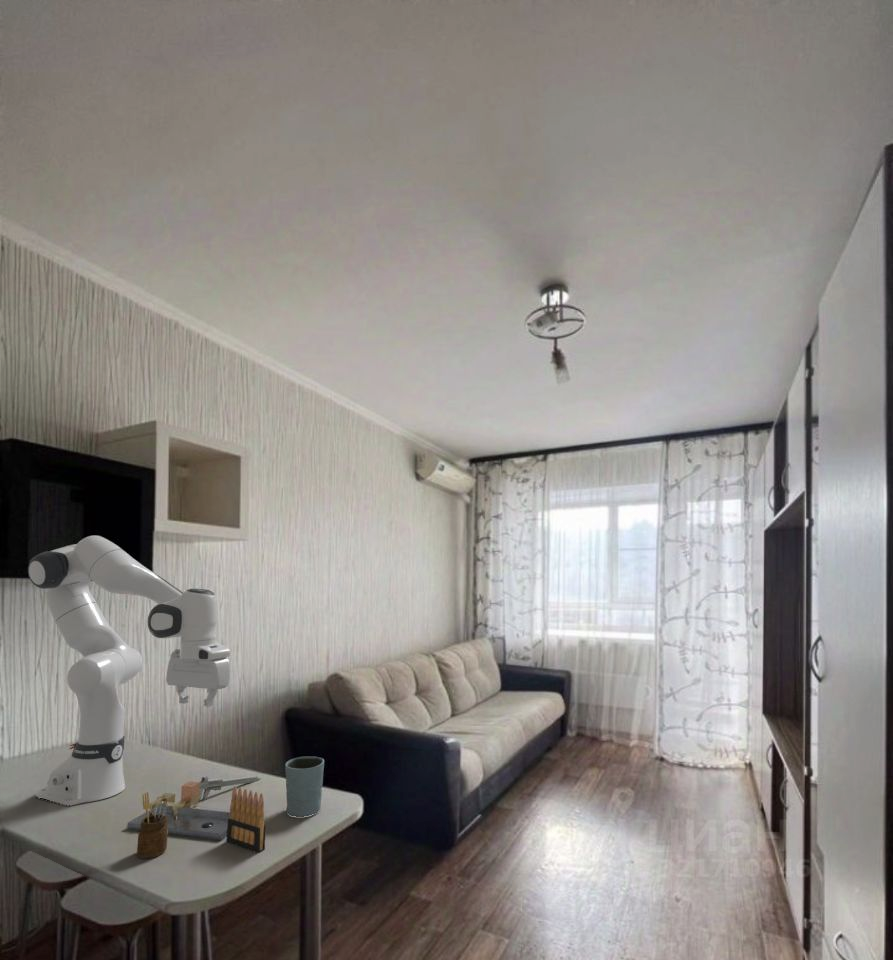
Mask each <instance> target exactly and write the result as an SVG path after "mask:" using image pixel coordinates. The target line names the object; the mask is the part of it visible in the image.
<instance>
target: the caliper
mask: <svg viewBox="0 0 893 960" xmlns="http://www.w3.org/2000/svg"><path fill="white" fill-rule="evenodd" d="M260 779H261V778H260V777H258V776H257V775H254V776H253V775H252V776H245V777H238V778H237V777H236V778H230V779H221V778H216V779H209V776H205V777H203V776H202V777H201V780H200V781H199V782H200V787H199V803H200V802H201V799H202V801H206V800H207V799H208V796H209V795H210V792H211V791H221V789H222V788H224V787H228V786H230V787H231V786H237V785H244V784H252V783H254V782H257V781H260Z"/></svg>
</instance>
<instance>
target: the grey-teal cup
mask: <svg viewBox="0 0 893 960" xmlns="http://www.w3.org/2000/svg"><path fill="white" fill-rule="evenodd" d="M284 767H285V768H284V769H285V788H286V814H287V813H288V814H289V815H291V816H296V817H304V816H309V815H312V814H315V813H317V812H318V811H319V810H320V811H321V806H322V805H321V804H322V796H323V795H322V793H323V789H322V788H323V783H324V768H325V759H324V758H322V757H318V756H314V755H313V756H299V757H295V758H292V759H289V760H288V761H286V762H285V765H284ZM320 811H319V812H320ZM288 814H287V815H288ZM317 814H318V813H317Z"/></svg>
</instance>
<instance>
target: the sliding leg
mask: <svg viewBox="0 0 893 960" xmlns="http://www.w3.org/2000/svg"><path fill="white" fill-rule="evenodd" d="M200 782H201V781H188V782H186V783H184V784H183V785H181V793H180V801H178V802H175V805H173V810H174V820H177V814H178V809H180V808H182V807H183V808H192V807H194V806H198V804H199V803H200V802H199V787H200Z"/></svg>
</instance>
